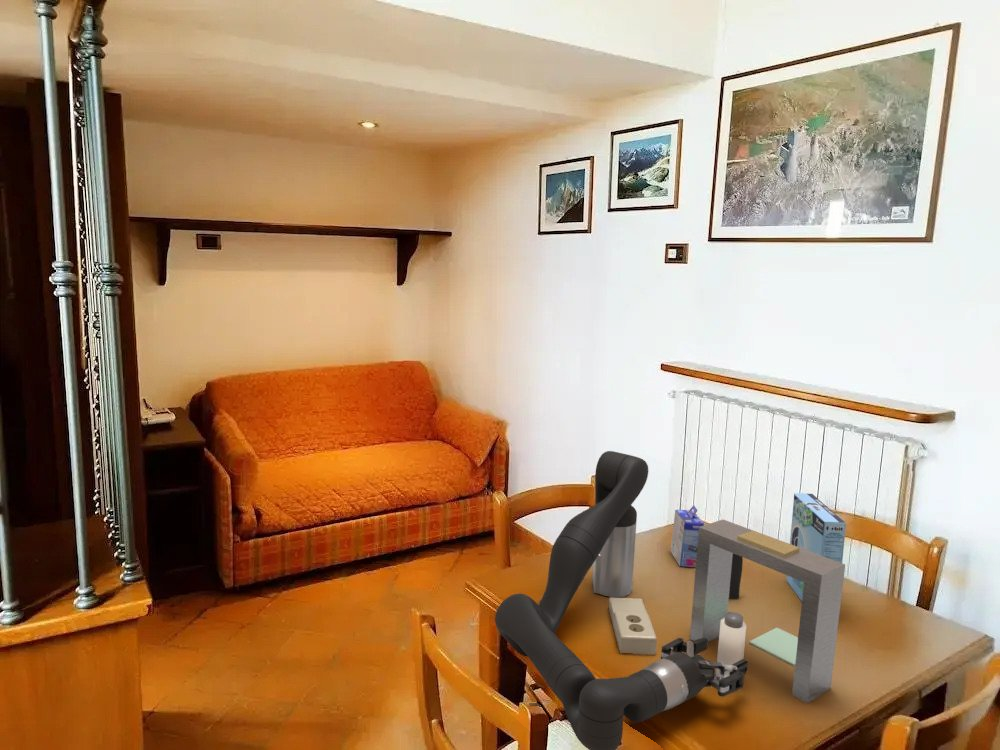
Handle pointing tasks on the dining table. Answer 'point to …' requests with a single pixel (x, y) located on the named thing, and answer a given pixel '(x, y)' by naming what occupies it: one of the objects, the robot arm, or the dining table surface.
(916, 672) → the dining table surface
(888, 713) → the dining table surface
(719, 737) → the dining table surface
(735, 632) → the bottle
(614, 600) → the electrical outlet
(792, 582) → the gum box
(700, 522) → the ink cartridge box
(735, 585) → the black rounded block
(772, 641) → the mat
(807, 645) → the arch
